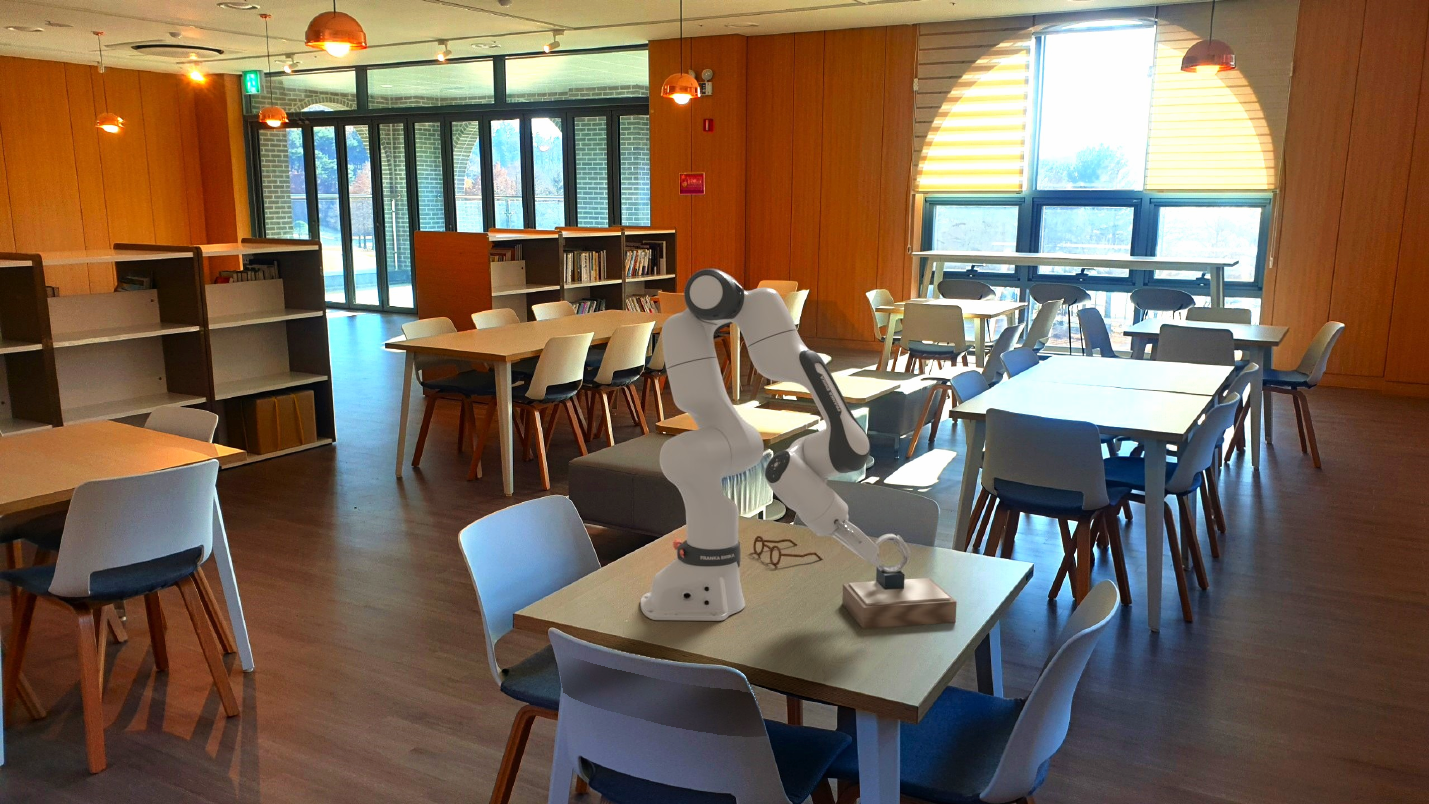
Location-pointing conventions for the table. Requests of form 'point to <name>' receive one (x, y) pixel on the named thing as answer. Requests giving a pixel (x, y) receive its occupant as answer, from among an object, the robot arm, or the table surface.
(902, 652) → the table surface
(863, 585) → the display riser
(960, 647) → the table surface
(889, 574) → the watch
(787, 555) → the glasses
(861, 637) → the table surface
